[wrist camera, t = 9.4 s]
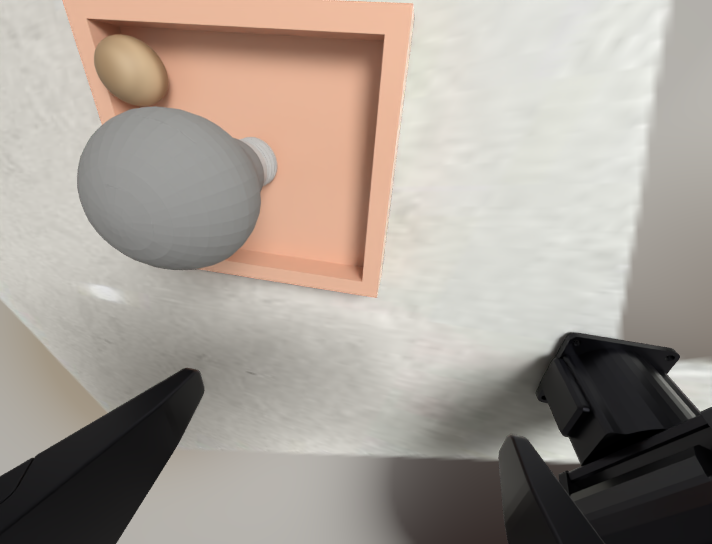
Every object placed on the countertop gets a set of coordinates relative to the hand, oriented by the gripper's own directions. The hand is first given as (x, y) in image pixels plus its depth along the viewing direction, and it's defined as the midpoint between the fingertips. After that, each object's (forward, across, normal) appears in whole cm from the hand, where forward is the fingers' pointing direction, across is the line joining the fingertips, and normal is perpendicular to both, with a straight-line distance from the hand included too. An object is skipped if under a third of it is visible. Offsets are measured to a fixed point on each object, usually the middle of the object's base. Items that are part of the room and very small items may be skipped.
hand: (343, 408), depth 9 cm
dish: (+12, +8, -4) cm, 15 cm away
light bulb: (+12, +8, -4) cm, 15 cm away
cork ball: (+12, +14, -8) cm, 20 cm away
